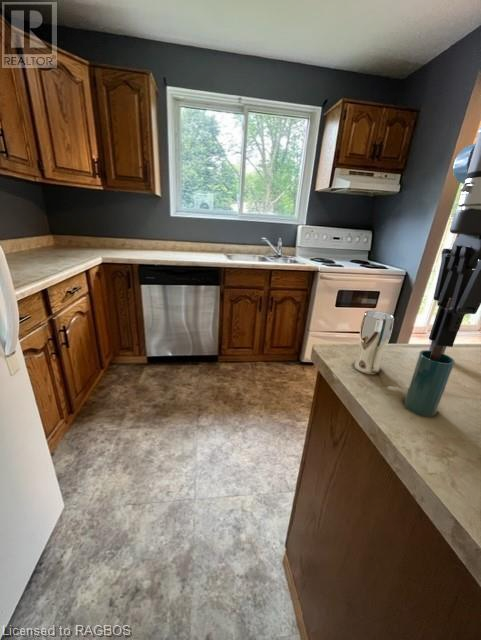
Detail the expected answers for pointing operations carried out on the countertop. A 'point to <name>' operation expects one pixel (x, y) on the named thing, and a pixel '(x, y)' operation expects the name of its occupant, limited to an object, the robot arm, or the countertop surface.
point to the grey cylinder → (433, 345)
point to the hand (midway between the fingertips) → (440, 342)
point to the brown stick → (436, 348)
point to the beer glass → (373, 340)
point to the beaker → (428, 383)
